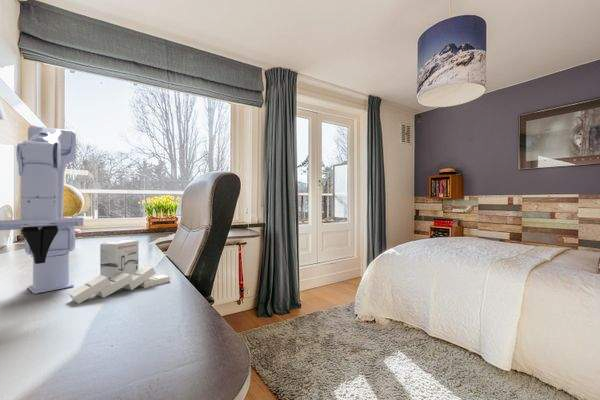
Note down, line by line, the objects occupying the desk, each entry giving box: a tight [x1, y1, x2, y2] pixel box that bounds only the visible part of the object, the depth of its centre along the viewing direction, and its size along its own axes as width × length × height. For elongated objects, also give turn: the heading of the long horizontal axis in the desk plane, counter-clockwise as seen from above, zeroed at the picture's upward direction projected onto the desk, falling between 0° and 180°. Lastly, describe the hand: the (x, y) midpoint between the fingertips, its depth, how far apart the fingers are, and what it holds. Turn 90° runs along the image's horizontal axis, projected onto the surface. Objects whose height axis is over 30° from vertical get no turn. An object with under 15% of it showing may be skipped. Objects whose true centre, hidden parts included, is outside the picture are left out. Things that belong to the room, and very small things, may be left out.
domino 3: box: [122, 265, 156, 291], centre depth 75 cm, size 4×2×7 cm
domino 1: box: [67, 274, 111, 305], centre depth 66 cm, size 4×2×7 cm
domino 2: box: [95, 272, 133, 299], centre depth 70 cm, size 4×2×7 cm
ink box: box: [99, 239, 139, 280], centre depth 78 cm, size 9×5×12 cm, turn 168°
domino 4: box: [138, 274, 171, 289], centre depth 78 cm, size 4×2×7 cm
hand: (39, 262), depth 59 cm, fingers closed
